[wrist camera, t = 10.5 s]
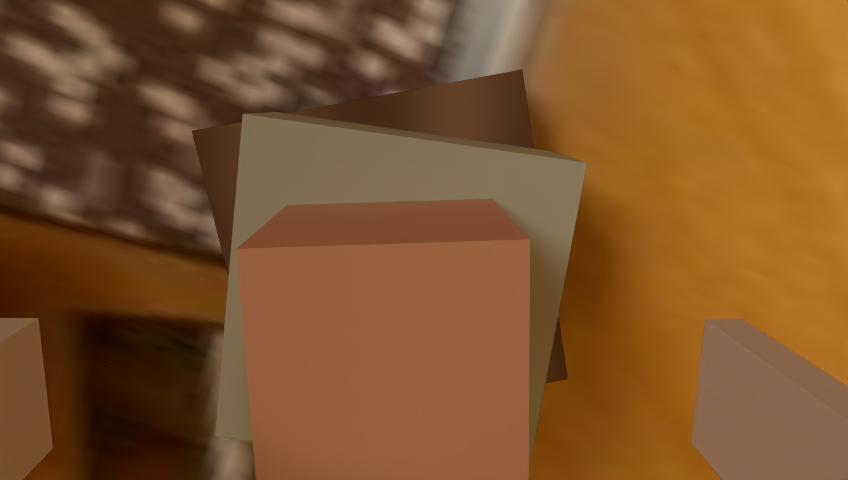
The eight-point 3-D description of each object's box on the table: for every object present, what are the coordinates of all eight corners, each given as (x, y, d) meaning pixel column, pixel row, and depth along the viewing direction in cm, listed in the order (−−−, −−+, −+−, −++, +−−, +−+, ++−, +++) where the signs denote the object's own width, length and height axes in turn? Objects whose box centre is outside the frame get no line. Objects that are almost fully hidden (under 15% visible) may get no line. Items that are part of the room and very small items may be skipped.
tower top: (250, 372, 26) (214, 436, 21) (275, 111, 24) (242, 113, 19) (505, 403, 26) (528, 471, 21) (550, 150, 24) (586, 162, 19)
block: (300, 396, 21) (258, 513, 15) (286, 204, 19) (236, 248, 14) (492, 389, 21) (528, 501, 15) (491, 198, 20) (530, 239, 14)
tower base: (289, 382, 31) (268, 434, 26) (227, 126, 29) (192, 130, 24) (541, 335, 31) (567, 379, 26) (501, 75, 29) (522, 69, 24)
